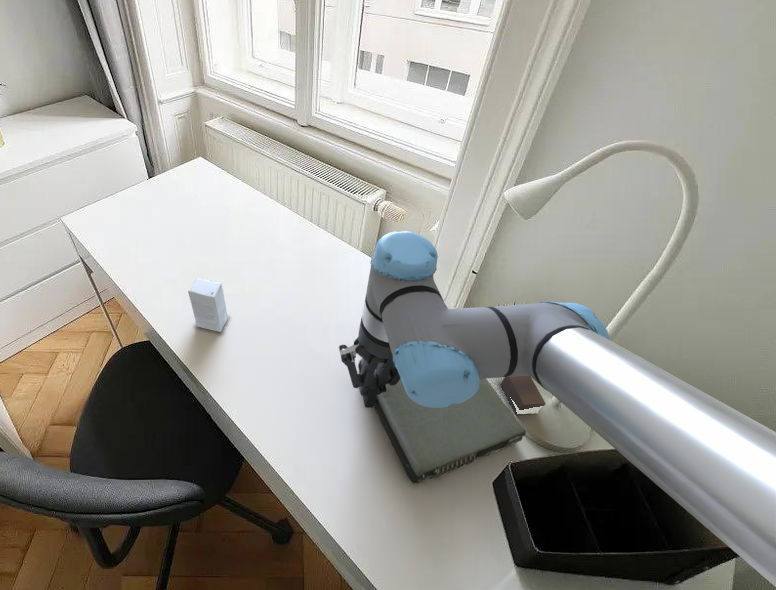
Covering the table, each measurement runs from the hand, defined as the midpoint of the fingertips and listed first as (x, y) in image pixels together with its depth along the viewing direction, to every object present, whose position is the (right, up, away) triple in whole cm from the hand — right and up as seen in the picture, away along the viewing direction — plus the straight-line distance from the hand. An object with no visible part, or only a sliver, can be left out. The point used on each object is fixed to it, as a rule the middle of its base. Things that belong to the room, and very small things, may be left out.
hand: (367, 400), depth 74 cm
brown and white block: (+29, -1, +3) cm, 29 cm away
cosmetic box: (-31, +10, +18) cm, 37 cm away
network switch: (+12, -2, +2) cm, 12 cm away
